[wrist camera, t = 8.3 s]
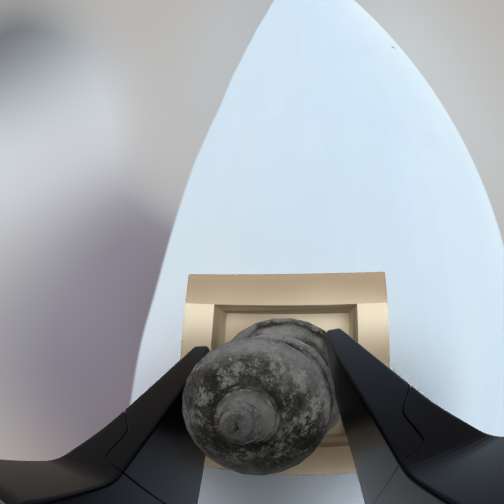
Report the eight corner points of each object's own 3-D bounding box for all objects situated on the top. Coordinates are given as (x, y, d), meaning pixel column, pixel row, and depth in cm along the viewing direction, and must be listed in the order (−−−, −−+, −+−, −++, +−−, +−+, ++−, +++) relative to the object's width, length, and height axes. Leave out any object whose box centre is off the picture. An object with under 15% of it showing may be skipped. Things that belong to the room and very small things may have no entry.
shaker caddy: (367, 451, 13) (380, 469, 10) (197, 445, 15) (176, 459, 12) (370, 288, 17) (384, 271, 14) (207, 290, 19) (188, 274, 16)
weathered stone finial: (276, 308, 16) (211, 160, 5) (361, 367, 13) (510, 352, 3) (211, 388, 14) (28, 401, 3) (294, 451, 12) (263, 609, 1)
